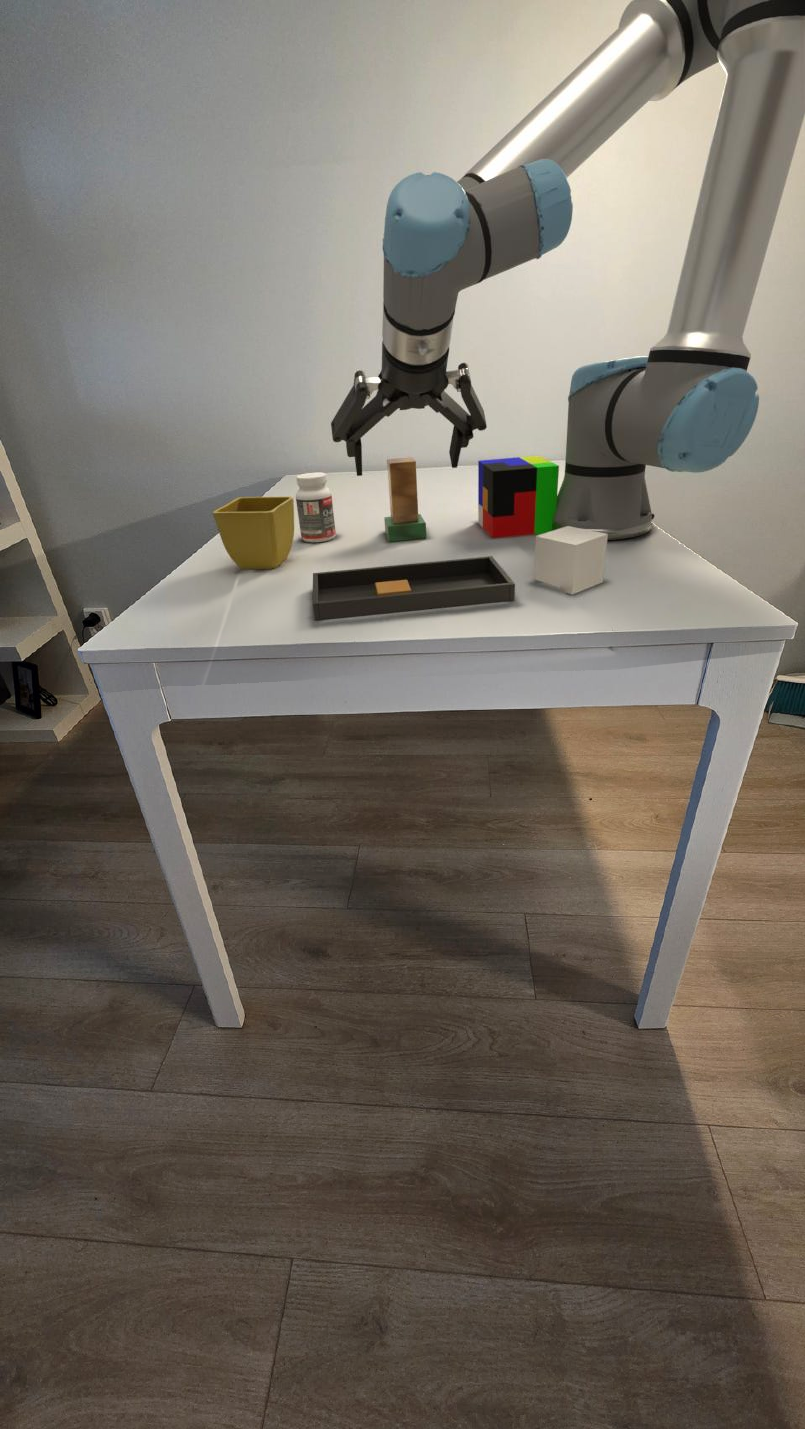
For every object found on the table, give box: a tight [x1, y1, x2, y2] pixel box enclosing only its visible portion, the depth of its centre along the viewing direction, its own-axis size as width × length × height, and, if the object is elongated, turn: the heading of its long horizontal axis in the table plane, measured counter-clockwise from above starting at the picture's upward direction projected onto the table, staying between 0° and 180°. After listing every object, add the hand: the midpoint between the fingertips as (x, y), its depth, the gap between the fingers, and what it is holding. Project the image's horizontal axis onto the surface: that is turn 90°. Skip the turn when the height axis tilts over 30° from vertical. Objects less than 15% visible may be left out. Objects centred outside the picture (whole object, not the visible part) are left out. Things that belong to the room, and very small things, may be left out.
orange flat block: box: [375, 580, 411, 596], centre depth 78 cm, size 4×4×1 cm
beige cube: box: [533, 526, 608, 596], centre depth 79 cm, size 6×6×6 cm
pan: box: [312, 555, 516, 622], centre depth 78 cm, size 23×11×3 cm, turn 97°
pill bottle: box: [295, 471, 337, 543], centre depth 103 cm, size 6×6×10 cm
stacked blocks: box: [383, 456, 427, 543], centre depth 101 cm, size 6×6×12 cm
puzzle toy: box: [477, 455, 560, 539], centre depth 102 cm, size 10×10×10 cm
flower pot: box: [212, 496, 295, 570], centre depth 92 cm, size 9×9×9 cm
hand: (406, 463), depth 91 cm, fingers open, 13 cm apart
